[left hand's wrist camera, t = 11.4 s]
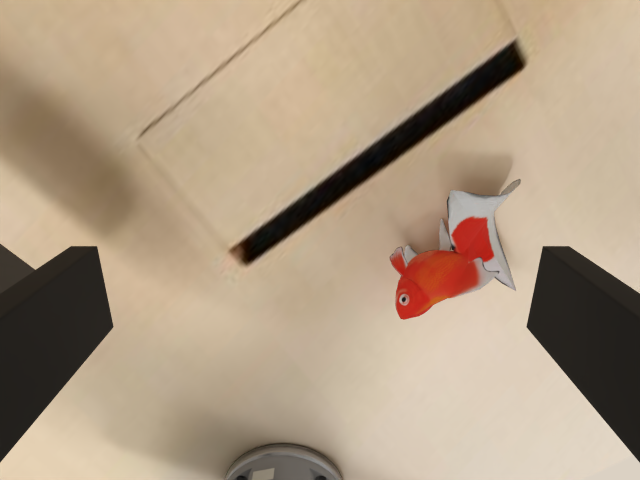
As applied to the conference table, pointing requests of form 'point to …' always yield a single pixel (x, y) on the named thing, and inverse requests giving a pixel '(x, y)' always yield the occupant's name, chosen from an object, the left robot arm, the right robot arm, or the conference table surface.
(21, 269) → the bar
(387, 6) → the conference table surface
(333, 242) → the conference table surface
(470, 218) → the fish
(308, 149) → the conference table surface
